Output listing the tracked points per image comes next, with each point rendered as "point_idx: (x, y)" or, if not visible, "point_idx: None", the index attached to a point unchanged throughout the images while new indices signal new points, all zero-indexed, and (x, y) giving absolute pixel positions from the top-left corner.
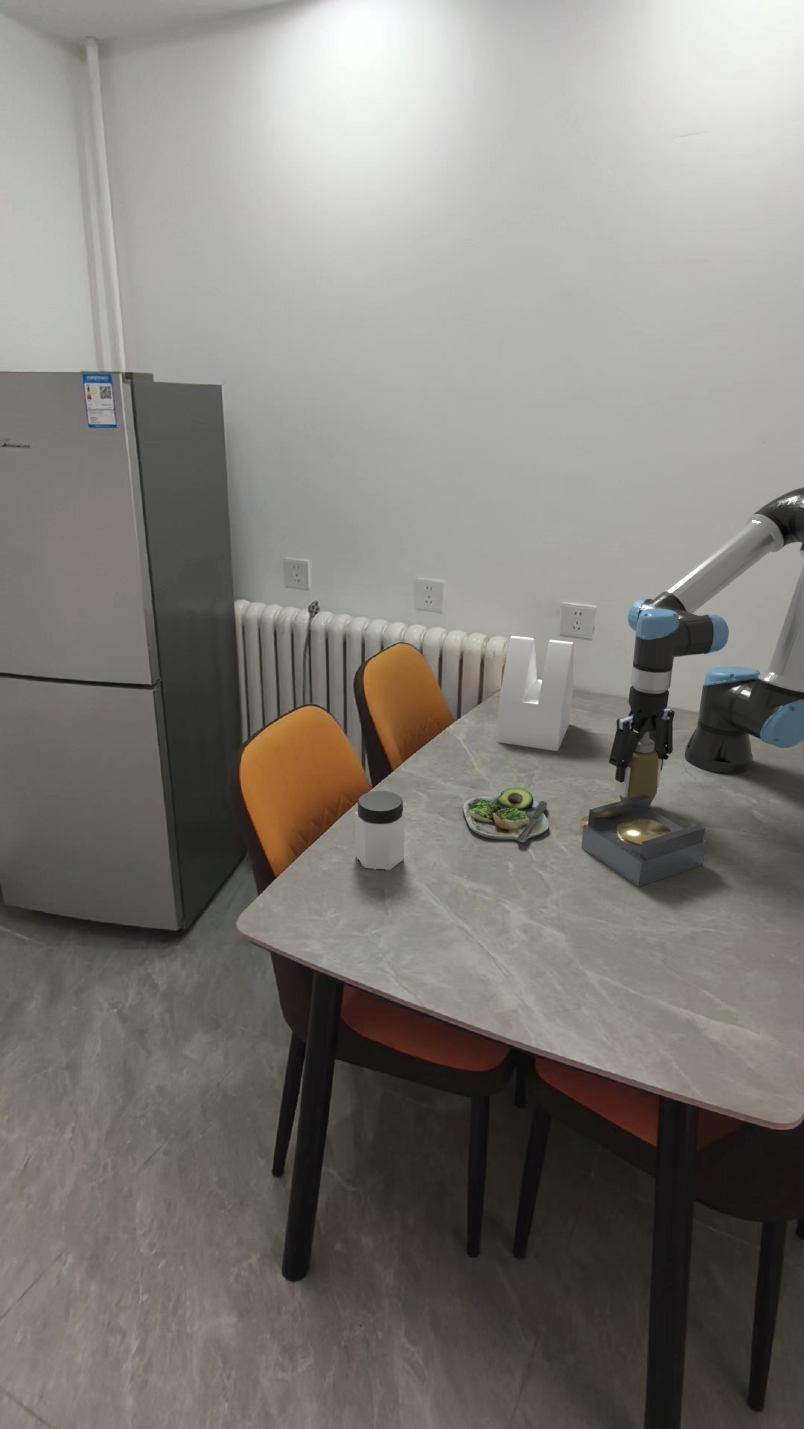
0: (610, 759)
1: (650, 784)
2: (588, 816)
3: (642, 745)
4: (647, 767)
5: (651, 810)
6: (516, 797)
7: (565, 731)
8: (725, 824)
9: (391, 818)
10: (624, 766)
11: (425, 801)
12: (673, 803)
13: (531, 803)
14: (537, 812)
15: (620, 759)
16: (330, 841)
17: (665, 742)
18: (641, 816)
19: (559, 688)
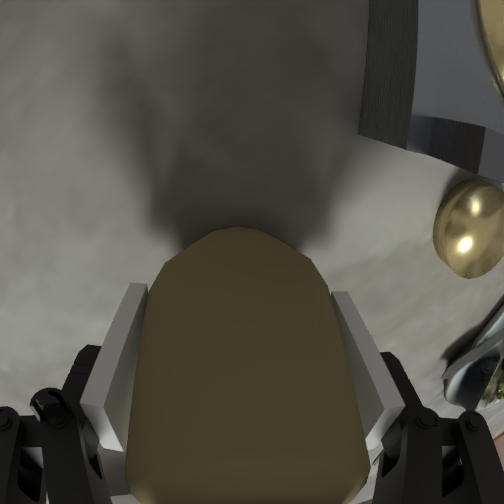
0: (458, 462)
1: (259, 277)
2: (466, 274)
3: None
4: (308, 385)
5: (415, 110)
6: (496, 386)
7: (131, 497)
8: (48, 21)
9: None
10: (434, 418)
11: (499, 412)
12: (83, 221)
13: (494, 365)
14: (496, 340)
15: (483, 451)
16: None
17: (21, 495)
18: (485, 111)
19: None
